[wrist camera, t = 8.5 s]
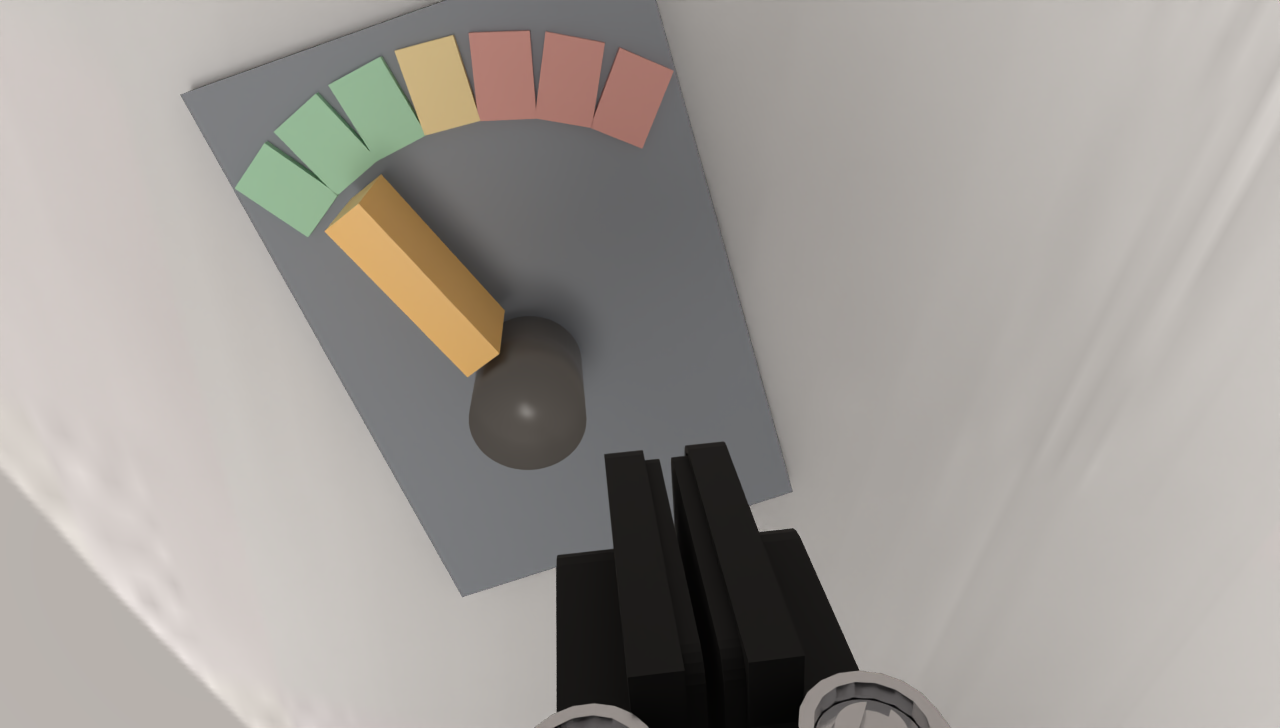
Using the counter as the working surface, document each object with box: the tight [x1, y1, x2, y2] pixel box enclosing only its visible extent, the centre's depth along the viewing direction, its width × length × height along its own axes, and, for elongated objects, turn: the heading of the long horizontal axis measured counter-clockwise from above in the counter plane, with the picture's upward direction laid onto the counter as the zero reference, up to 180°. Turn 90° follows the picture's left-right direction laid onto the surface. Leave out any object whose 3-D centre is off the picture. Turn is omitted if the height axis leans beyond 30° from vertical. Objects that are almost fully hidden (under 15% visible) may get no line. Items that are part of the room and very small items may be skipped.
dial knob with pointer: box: [325, 175, 587, 470], centre depth 24 cm, size 9×3×4 cm, turn 36°
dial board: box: [181, 0, 793, 597], centre depth 27 cm, size 20×14×1 cm
